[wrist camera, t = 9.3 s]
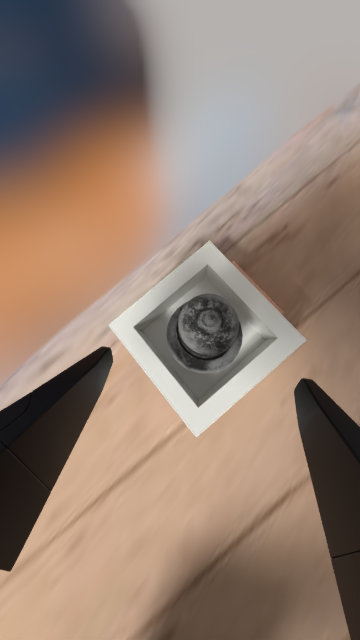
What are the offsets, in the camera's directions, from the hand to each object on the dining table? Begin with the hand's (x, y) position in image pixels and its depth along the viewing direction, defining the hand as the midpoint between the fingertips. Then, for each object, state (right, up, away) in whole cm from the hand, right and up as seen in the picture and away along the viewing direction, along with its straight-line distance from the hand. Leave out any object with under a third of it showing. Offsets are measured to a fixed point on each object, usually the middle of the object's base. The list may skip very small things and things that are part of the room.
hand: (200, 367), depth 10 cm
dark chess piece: (+1, +1, +10) cm, 10 cm away
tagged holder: (+1, +1, +11) cm, 11 cm away
